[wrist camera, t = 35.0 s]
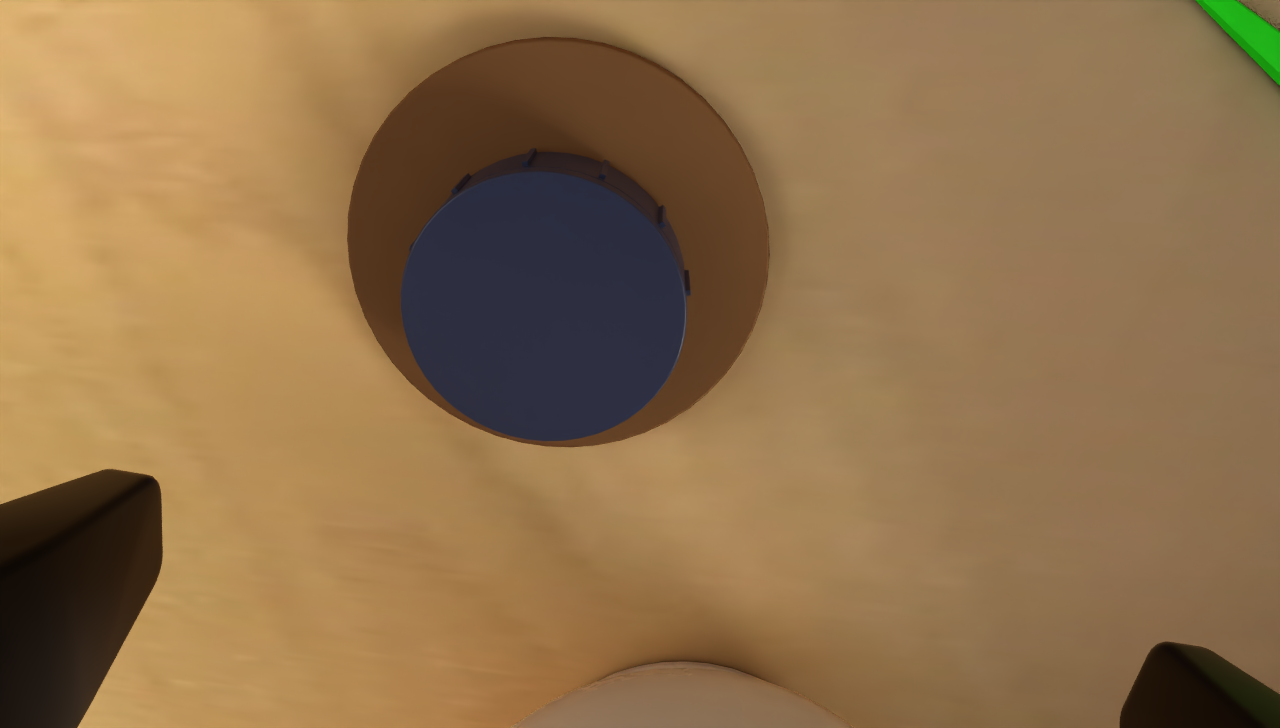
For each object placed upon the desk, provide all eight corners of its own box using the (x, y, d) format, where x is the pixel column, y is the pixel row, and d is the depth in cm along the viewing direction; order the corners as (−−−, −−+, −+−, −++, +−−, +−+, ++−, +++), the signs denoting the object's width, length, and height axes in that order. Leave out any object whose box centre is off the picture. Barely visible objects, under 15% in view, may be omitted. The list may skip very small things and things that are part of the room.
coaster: (677, 486, 21) (677, 497, 20) (313, 362, 20) (304, 372, 19) (836, 132, 18) (840, 136, 17) (415, -33, 17) (408, -33, 16)
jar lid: (489, 433, 20) (473, 476, 18) (377, 207, 18) (349, 232, 16) (721, 354, 19) (726, 392, 17) (629, 109, 17) (625, 125, 15)
